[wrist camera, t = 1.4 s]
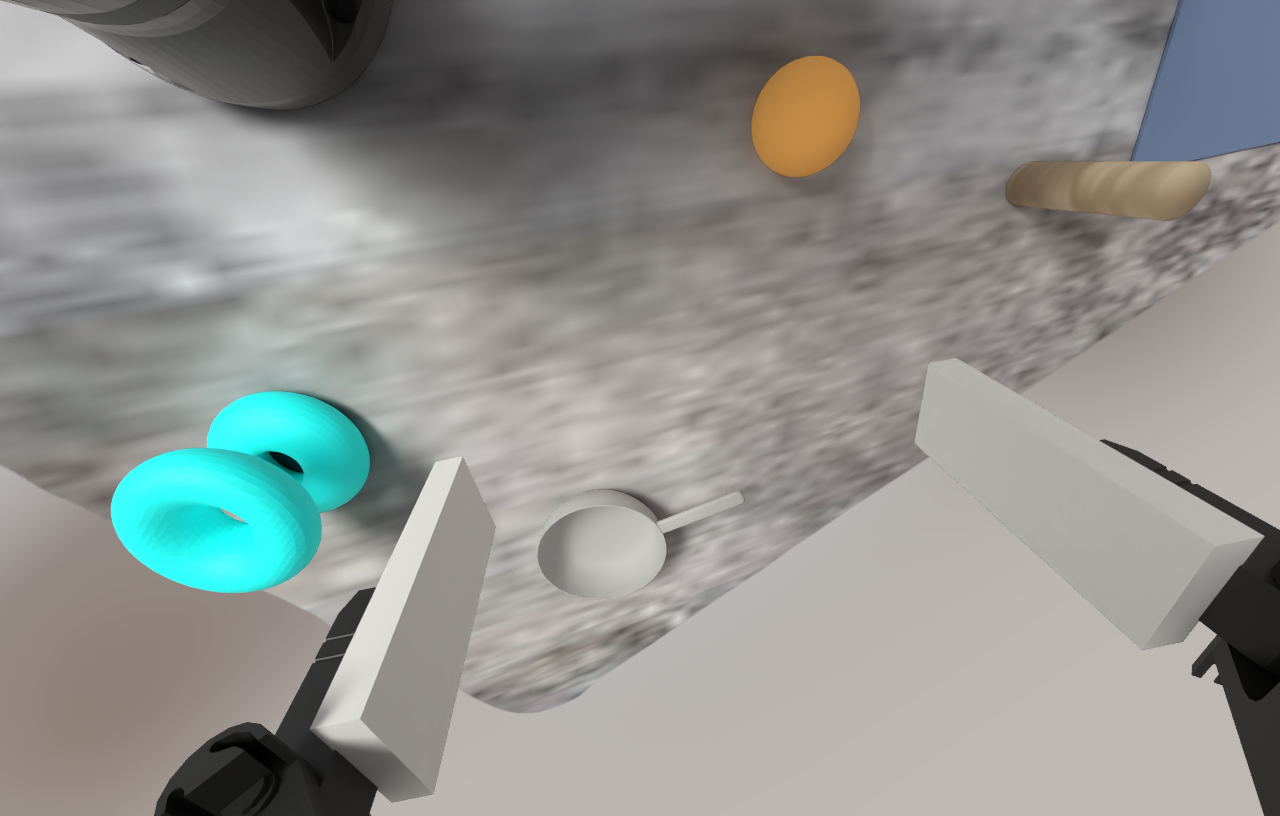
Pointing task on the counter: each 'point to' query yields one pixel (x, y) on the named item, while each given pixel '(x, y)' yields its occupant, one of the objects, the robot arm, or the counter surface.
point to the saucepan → (610, 542)
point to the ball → (805, 116)
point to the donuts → (243, 494)
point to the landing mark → (1215, 82)
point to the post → (1111, 187)
